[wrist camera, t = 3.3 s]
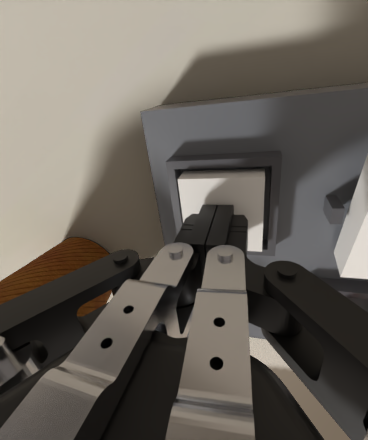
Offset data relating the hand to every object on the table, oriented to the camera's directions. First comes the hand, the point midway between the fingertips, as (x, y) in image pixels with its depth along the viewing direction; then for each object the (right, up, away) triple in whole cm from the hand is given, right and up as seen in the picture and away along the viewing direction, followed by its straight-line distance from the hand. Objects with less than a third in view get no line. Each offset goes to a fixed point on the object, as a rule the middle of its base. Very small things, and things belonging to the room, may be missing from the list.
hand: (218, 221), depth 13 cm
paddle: (0, +1, +1) cm, 1 cm away
